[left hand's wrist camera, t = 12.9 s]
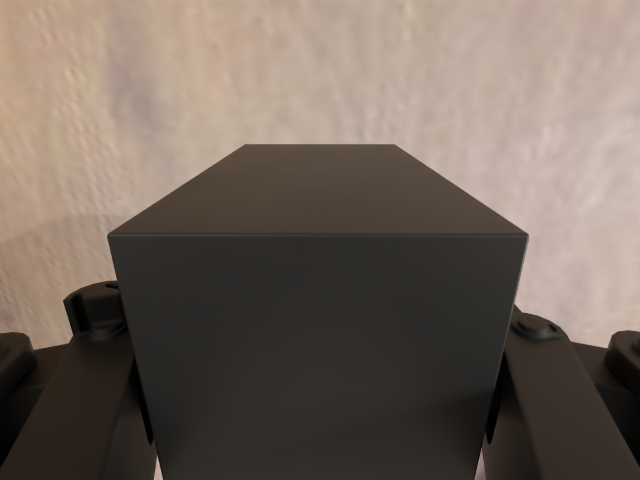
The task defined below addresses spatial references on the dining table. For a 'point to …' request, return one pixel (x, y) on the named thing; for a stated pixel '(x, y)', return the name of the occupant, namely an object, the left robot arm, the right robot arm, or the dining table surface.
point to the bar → (318, 316)
